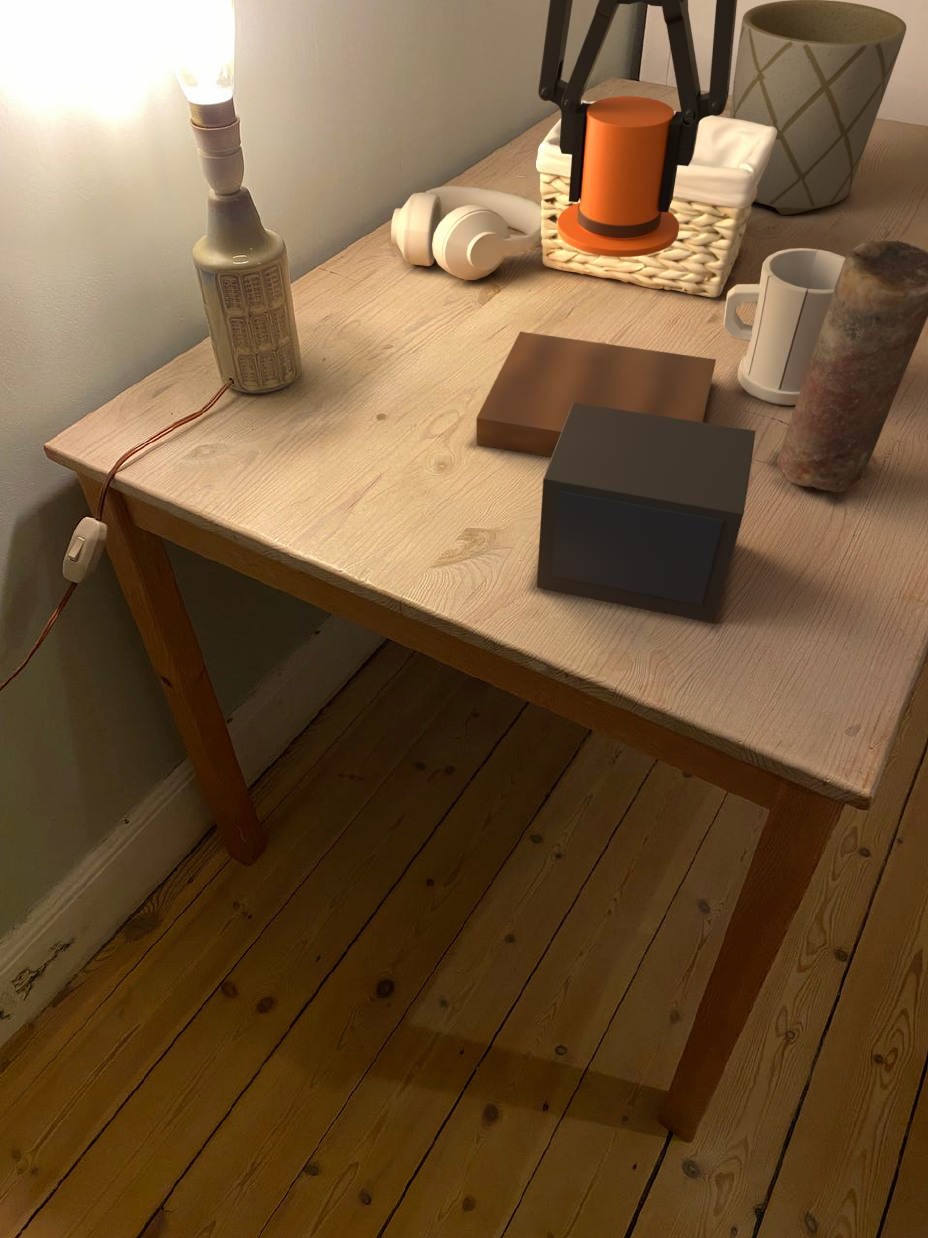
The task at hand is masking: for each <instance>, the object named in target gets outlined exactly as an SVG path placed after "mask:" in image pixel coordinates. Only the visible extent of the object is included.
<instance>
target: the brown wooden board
mask: <svg viewBox="0 0 928 1238" xmlns="http://www.w3.org/2000/svg"><path fill="white" fill-rule="evenodd" d="M504 360H505V361H504V363H503V364H502V365H501V368H500V370H499V372H498V374H497V376H496V378H495V380H494V382H493V384H492V386H491V388H490V390H489V391H488V394H487V396H486V398H485V400H484V402H483V404H482V406H481V408H480V410H479V412H478V414H477V416H476V417H475V418H476V422H475V423H476V424H475V425H476V445H478V446H485V447H491V448H495V449H501V450H502V449H503V450H508V451H514V452H520V453H526V454H531V455H538V456H543V457H548V458H552V455H553V453H554V450H555V447H556V445H557V442H558V440H559V437H560V435H561V432H562V429H563V427H564V424H565V422H566V419H567V417H568V414H569V412H570V409H571V406H572V404H573V402H576V403H582V404H588V405H595V406H601V407H607V408H614V409H620V410H626V411H633V412H639V413H645V414H652V415H658V416H664V417H671V418H677V419H684V420H690V421H696V422H703V423H704V418H705V413H706V408H707V404H708V400H709V394H710V390H711V387H712V380H713V376H714V371H715V367H716V362H717V359H716V358H708V357H703V356H696V355H695V356H694V355H688V354H681V353H673V352H668V351H667V352H665V351H660V350H654V349H653V350H652V349H645V348H640V347H639V348H638V347H631V346H624V345H617V344H610V343H603V342H596V341H588V340H582V339H576V338H575V339H574V338H568V337H563V336H554V335H548V334H539V333H533V332H527V331H519V333H518V335H517V337H516V339H515V340H514V342H513V345H512V347H511V349H510V351H509V353H508V355H507V357H506V359H504Z"/></svg>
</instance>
